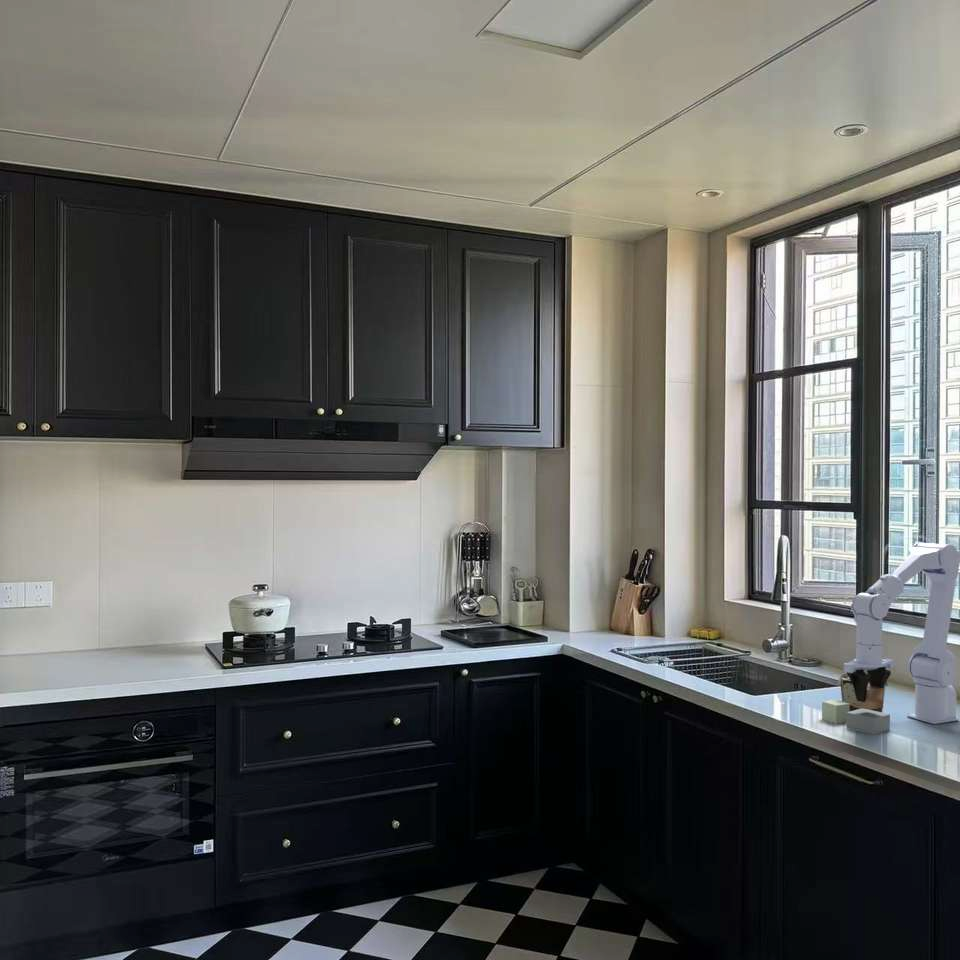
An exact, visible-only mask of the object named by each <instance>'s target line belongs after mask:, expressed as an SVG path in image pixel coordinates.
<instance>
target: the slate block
mask: <svg viewBox="0 0 960 960" xmlns="http://www.w3.org/2000/svg"><path fill="white" fill-rule="evenodd" d="M846 728H847V729H849V728H850V730H853V729H854V731H857V730H858V732H861V731H862V732H861V733H866V734H869V735H872V736H873V735H874V736H875V735H877V734H882V733H884V732H889V731H890V730H891V714H890V713H886V712H883V711H882V712H877V711H873V710H868V709H864V708H862V709H858V710H854V711H850V712H847V722H846Z"/></svg>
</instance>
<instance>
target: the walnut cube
mask: <svg viewBox="0 0 960 960" xmlns="http://www.w3.org/2000/svg"><path fill="white" fill-rule="evenodd" d="M854 705H856V706H859V707H863V708H866V709H877V708H884V702H883V689H882V688H878V687H874V686H871V685H868V686H867V695H866V700H865V702H861V701H857V699H856V695H855V691H854Z"/></svg>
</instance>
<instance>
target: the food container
mask: <svg viewBox="0 0 960 960" xmlns="http://www.w3.org/2000/svg"><path fill="white" fill-rule="evenodd" d="M868 685H870V681H869V682H868ZM837 686H840V695H841V701H842V702H845V703H849V704H850V711H854V710H858V709H862V708H863V707H859V706H856V705H854V688H853V685H852V682H851V680H850V678H849V676H848V675H847V672H845V673H842V674H840V675H839V677H838V681H837ZM888 686H889V685H888V680H887V681H886V683H885V685H884V688H883V703H884V701H885V694H886V693H885V692H886V687H888ZM883 708H884V707H883ZM883 708H877V709H868V710H873V711H877V712H882V713H883V711H884V709H883ZM864 709H866V708H864ZM850 711H849V712H850Z"/></svg>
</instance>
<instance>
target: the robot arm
mask: <svg viewBox="0 0 960 960" xmlns="http://www.w3.org/2000/svg"><path fill="white" fill-rule="evenodd" d="M959 567H960V553H959V551H958V549H957V548H956V546H955V545H954V544H950V543H949V544H948V543H947V544H941V543H930V542H923V541H917V542H915V543H914V544H913V545H912V546H911V547H910V548H909V549H908V556H907V557H906V558H905V559H904V560H903V562H901V563H900V565H899V566H898V567H897V568H896V569H895V571H894V572H893V573H891V574H889V573H886V574H881V576H879V579H878V580H876V582H875V583H874V584H872V586H870V587H869V588H868V589H867V590H866V591H865V592H860V593H858V594H857V595H855V596H854V597H853V598H852V603H851V604H850V609H851V612H852V613H853V616H854V618H853V619H854V623H855V624H856V628H855V629H856V634H855V635H856V637H855V639H856V641H855V642H856V644H855V645H856V646H855V648H856V649H855V653H856V654H855V658H853V660H852V661H849V662H847V663H843V672H845V673H847V675H848V676H849V678H850V680H851V682H852V685H853V688H854V691H855V695H856V699H857V701H861V702H865V700H866V695H867V686H868V682H869V681H870V685H871V686H874V687H878V688H882V689H883V688H884V685H885V683H886V681H887V682H888V679H889V678H890V676H891V674H892V673H891V670H889V669H894V660H893V659H889V658H883V618H886V616H887V615H888V612H889V609H890V607H891V606H892V603H893V602H894V601H895V600H896V599H897V598H898V597H900V595H902V594H903V592H904V590H905V589H904V585H905V584H907V582H908V581H910V580H911V579H912V578H914V577H915V576H916V575H917V574H919V573H920V572H921V573H923V574H924V575H925V576H927V577H928V579H929V580H930V581H931V585H930V592H929V598H928V606H927V611H926V616H925V617H926V618H925V624H924V633H923V637H922V642H921V643H919V644H918V645H917V646H915V647H913V649H912V653H911V656H910V658H909V660H908V663H907V671H908V674H909V676H910V677H911V678H912V682H914V683H915V689H914V690H915V692H914V693H915V695H914V700H915V701H914V713H910V714H907V715H906V716H907V717H908V718H911V719H915V720H918V721H922V722H926V723H928V724H933V725H935V724H943V723H944V724H945V723H949V722H950V723H951V722H955V721H960V718H959V717H957V692H956V689H955V688H954V687H953V685H952V683H953V682H954V681H955V678H956V674H957V669H956V656H955V655H954V654H953V652H951V651H950V650H949V649H948V647H947V643H948V637H949V632H950V631H949V630H950V623H951V617H952V610H953V602H954V597H955V592H956V591H955V590H956V583H957V579H958V575H959V569H960V568H959ZM933 656H935V657H933ZM885 686H886V685H885Z"/></svg>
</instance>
